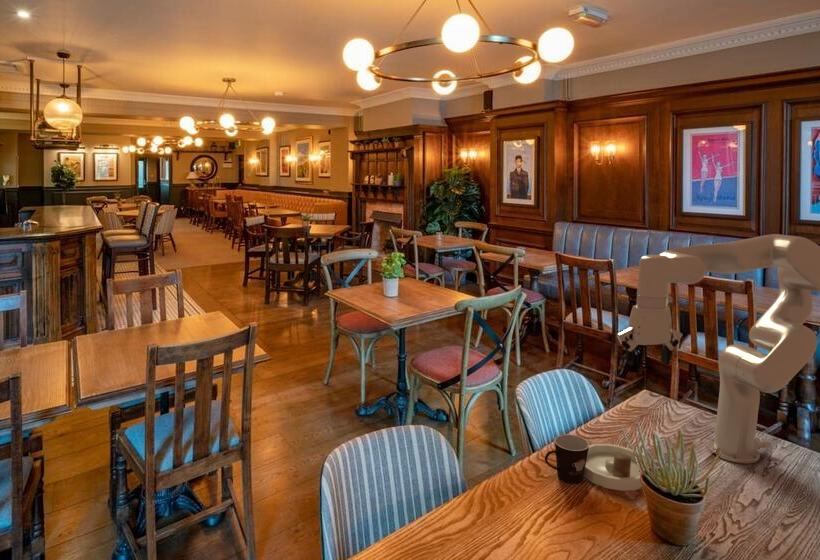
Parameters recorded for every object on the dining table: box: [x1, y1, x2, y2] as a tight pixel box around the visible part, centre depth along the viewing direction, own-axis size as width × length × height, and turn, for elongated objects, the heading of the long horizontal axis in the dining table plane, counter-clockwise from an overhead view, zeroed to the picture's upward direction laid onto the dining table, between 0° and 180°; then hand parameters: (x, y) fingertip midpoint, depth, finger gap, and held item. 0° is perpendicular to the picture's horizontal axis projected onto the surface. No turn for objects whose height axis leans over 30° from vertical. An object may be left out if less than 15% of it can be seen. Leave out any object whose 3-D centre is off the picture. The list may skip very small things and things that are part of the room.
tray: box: [583, 443, 642, 492], centre depth 136 cm, size 18×18×3 cm
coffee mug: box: [544, 433, 590, 485], centre depth 133 cm, size 12×9×10 cm
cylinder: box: [613, 453, 631, 478], centre depth 131 cm, size 4×4×6 cm
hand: (647, 363), depth 137 cm, fingers open, 9 cm apart
